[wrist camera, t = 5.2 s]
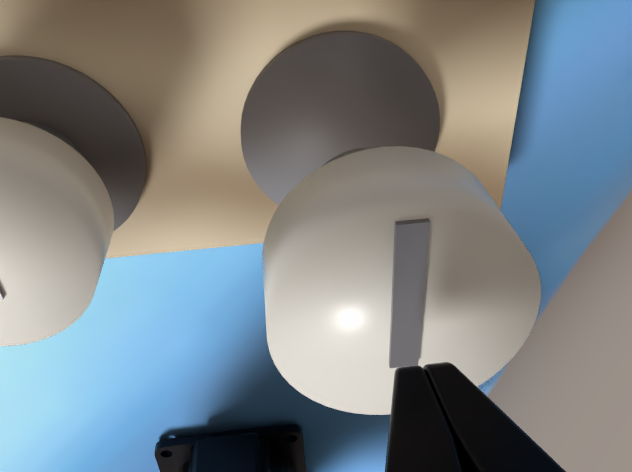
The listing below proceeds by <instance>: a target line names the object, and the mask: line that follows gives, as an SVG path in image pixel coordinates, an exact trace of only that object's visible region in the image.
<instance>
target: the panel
mask: <svg viewBox="0 0 632 472" xmlns="http://www.w3.org/2000/svg"><path fill="white" fill-rule="evenodd" d="M534 5H535V0H0V117H2V118H7V119H12V120H17V121H20V122H32V123H37V124H41V125H44V126H47V127H49V128H52V129H54V130H56V131H58V132H59V133H61V134H62V135H64V136H65V137H67V138H68V139H69V140H70V141H71V142H72V143H73V144H74V145H75V146H76V147H77V149H78V150H79V152H80V153H81V155H82V156H83V157H84V158H85V159H86V160H87V161H88V163H89V164H90V165H91V166H92V167H93V168H94V169H95V171H96V172H97V174H98V175H99V176H100V178H101V179H102V181H103V183H104V185H105V187H106V189H107V191H108V194H109V196H110V199H111V202H112V207H113V212H114V228H113V235H112V238H111V241H110V245H109V248H108V251H107V254H106V257H105V258H113V257H124V256H134V255H144V254H154V253H164V252H175V251H185V250H195V249H205V248H215V247H226V246H236V245H246V244H256V243H264V239H265V235H266V232H267V228H268V226H269V223H270V221H271V219H272V217H273V215H274V213H275V211H276V210H277V208H278V207H279V205H280V204H281V202H282V201H283V199H284V198H285V197H286V196H287V195H288V194H289V192H290V191H291V190H292V189H293V188H294V187H295V186H296V185H297V184H299V183H300V182H301V181H302V180H303V179H304V178H305V177H307V176H308V175H310V174H311V173H313V172H314V171H315V170H317V169H318V168H320V167H322V166H323V165H324V164H325V163H326V162H328V161H329V160H331V159H332V158H334V157H336V156H337V155H339V154H341V153H344V152H346V151H350V150H353V149H358V148H378V147H389V146H405V147H415V148H421V149H425V150H430V151H434V152H436V153H439V154H442V155H444V156H447V157H449V158H451V159H453V160H455V161H456V162H458V163H460V164H461V165H463V166H464V167H465V168H467V169H468V170H469V171H470V172H472V173H473V174H474V175H475V176H476V178H477V179H478V180H479V181H480V182H481V183H482V184H483V186H484V187H485V189H486V190H487V192H488V193H489V195H490V196H491V197H492V199H493V200H494V202H495V203H496V205H497V206H498V208H499V209H500V210H501V204H502V198H503V191H504V185H505V179H506V173H507V167H508V161H509V155H510V149H511V143H512V137H513V131H514V125H515V119H516V113H517V107H518V101H519V95H520V89H521V83H522V77H523V71H524V65H525V59H526V53H527V47H528V41H529V35H530V29H531V23H532V17H533V11H534Z"/></svg>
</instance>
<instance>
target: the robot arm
mask: <svg viewBox="0 0 632 472" xmlns="http://www.w3.org/2000/svg"><path fill="white" fill-rule="evenodd" d="M155 458H156V460H157V463H158V466H159V469H160V472H306V468H305V457H304V446H303V435H302V429H301V427H300V426H298V425H295V424H289V425H280V426H272V427H263V428H255V429H247V430H238V431H230V432H221V433H213V434H204V435H196V436H187V437H179V438H171V439H164V440H160V441H159V442H157V444H156V447H155ZM385 472H566V471H565V470H564V469H563V468H561V467H560V466H559V465H558V464H557V463H556V462H555V461H554V460H553V459H552V458H551V457H550V456H549V455H548V454H547V453H546V452H545V451H544V450H543V449H542V448H541V447H539V446H538V445H537V444H536V443H535V442H534V441H533V440H532V439H531V438H530V437H529V436H528V435H527V434H526V433H525V432H524V431H523V430H522V429H521V428H520V427H519V426H517V425H516V424H515V423H514V422H513V421H512V420H511V419H510V418H509V417H508V416H507V415H506V414H505V413H504V412H503V411H502V410H501V409H500V408H499V407H498V406H497V405H495V404H494V403H493V402H492V401H491V400H490V399H489V398H488V397H487V396H486V395H485V394H484V393H483V392H482V391H481V390H480V389H479V388H478V387H477V386H476V385H475V384H473V383H472V382H471V381H470V380H469V379H468V378H467V377H466V376H465V375H464V374H463V373H462V372H461V371H460V370H459V369H458V368H457V367H456V366H455V365H453V364H452V363H449V362H442V363H433V364H427V365H425V366H424V367H423V368H422V367H421V366H419V365H416V366H407V367H399V368H397V369H396V370H395V374H394V384H393V394H392V404H391V414H390V425H389V435H388V445H387V456H386V466H385Z"/></svg>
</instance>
